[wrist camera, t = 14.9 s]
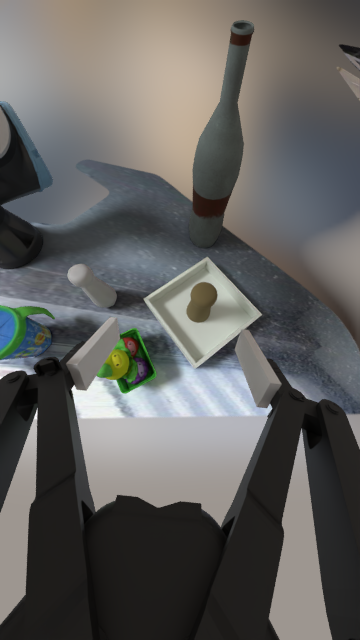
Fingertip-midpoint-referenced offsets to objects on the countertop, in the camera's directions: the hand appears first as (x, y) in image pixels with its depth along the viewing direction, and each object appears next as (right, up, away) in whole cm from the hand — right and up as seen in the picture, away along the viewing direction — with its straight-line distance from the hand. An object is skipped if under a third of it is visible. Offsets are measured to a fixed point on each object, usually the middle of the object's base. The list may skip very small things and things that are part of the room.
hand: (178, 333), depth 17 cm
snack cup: (-34, -4, +21) cm, 40 cm away
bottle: (+7, +26, +30) cm, 41 cm away
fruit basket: (-11, -8, +20) cm, 24 cm away
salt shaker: (-18, +7, +24) cm, 31 cm away
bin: (+5, +3, +23) cm, 24 cm away
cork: (+5, +4, +22) cm, 23 cm away
